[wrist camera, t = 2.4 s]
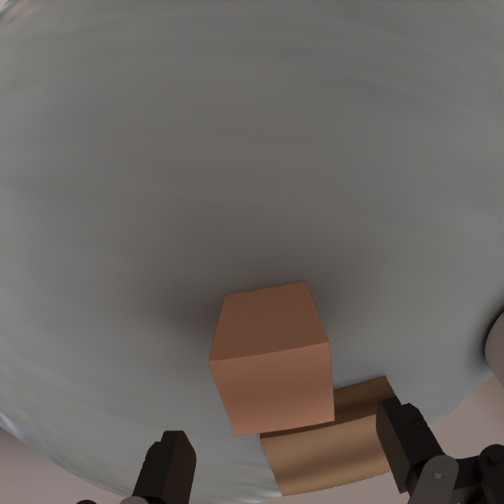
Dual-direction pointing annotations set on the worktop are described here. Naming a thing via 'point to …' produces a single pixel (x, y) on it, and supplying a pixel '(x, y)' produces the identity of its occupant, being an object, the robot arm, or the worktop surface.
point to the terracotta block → (272, 360)
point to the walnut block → (331, 444)
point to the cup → (496, 349)
